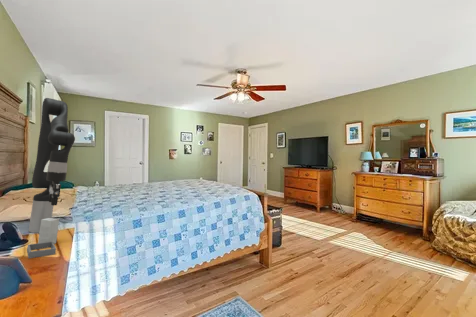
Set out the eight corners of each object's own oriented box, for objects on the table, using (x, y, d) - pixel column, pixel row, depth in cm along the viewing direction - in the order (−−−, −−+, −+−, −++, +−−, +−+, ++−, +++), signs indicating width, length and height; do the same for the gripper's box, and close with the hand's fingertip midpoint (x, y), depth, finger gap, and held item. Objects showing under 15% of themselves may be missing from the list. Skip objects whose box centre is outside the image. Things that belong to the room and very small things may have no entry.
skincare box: (56, 243, 112) (59, 219, 113) (48, 245, 108) (52, 220, 109) (45, 241, 113) (48, 217, 113) (37, 244, 109) (40, 219, 109)
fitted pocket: (26, 250, 101) (27, 244, 101) (52, 246, 107) (52, 241, 107) (28, 258, 94) (29, 252, 94) (55, 254, 100) (55, 248, 100)
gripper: (45, 169, 114) (41, 201, 114) (49, 171, 105) (44, 206, 104) (64, 170, 120) (59, 201, 119) (69, 172, 110) (64, 205, 109)
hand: (52, 203), depth 111 cm, fingers open, 8 cm apart
